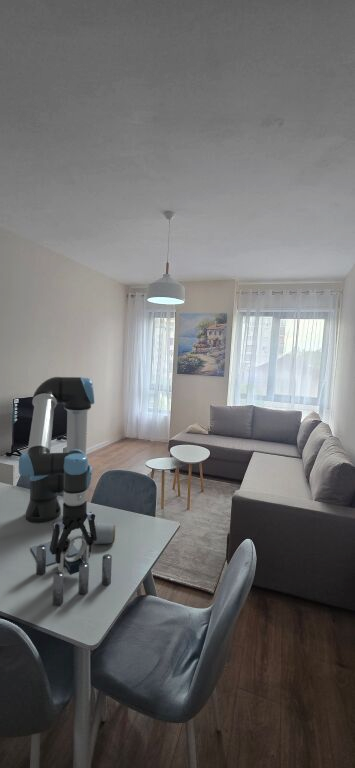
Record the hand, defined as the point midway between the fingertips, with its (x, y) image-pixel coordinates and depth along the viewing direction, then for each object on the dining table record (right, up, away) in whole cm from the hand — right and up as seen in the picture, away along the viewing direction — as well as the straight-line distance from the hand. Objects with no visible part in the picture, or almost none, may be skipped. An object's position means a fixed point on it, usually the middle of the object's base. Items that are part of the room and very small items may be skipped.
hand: (73, 566), depth 113 cm
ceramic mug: (+5, -2, +23) cm, 24 cm away
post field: (0, -4, 0) cm, 4 cm away
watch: (0, -1, 0) cm, 1 cm away
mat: (-11, -2, +14) cm, 18 cm away
